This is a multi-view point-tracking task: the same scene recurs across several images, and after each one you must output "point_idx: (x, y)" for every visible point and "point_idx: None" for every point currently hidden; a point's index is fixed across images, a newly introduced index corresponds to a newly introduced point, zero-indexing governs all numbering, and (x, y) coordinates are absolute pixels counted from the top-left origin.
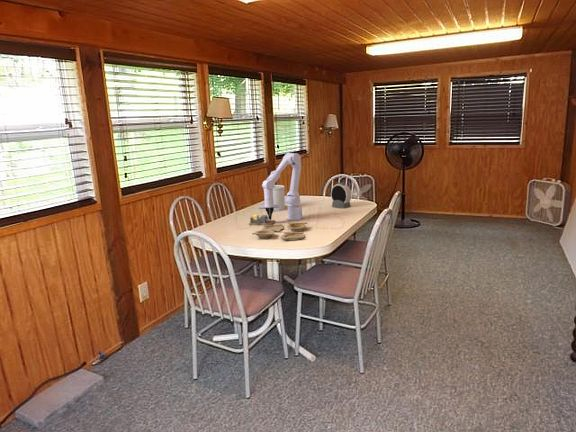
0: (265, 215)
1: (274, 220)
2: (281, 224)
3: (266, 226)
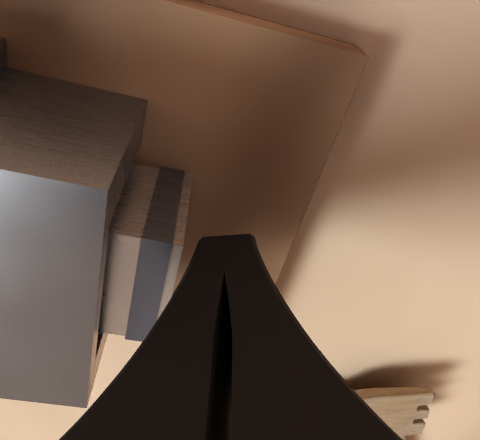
0: (45, 240)
1: (348, 78)
2: (416, 414)
3: None
